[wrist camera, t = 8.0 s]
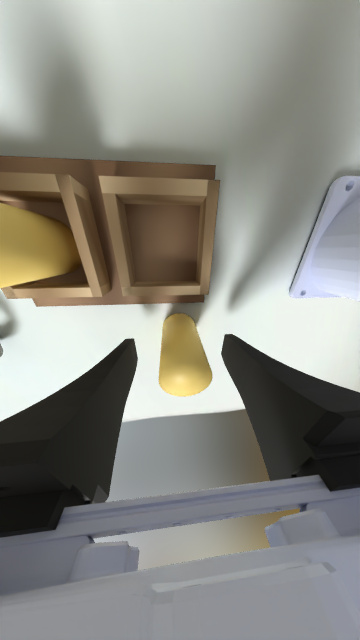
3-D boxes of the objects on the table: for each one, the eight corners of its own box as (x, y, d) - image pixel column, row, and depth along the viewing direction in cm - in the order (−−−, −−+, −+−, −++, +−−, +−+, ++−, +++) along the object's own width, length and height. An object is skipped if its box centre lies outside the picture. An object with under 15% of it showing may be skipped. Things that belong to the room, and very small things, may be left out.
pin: (72, 216, 8) (-123, 147, 3) (89, 273, 9) (-14, 302, 4) (14, 215, 8) (-326, 138, 2) (40, 273, 9) (-134, 304, 4)
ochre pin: (195, 312, 13) (215, 357, 7) (194, 340, 14) (209, 394, 9) (161, 313, 12) (156, 361, 7) (163, 341, 14) (160, 397, 9)
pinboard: (210, 174, 8) (226, 144, 6) (201, 298, 12) (208, 309, 10) (-20, 165, 7) (-104, 126, 5) (46, 301, 11) (15, 315, 9)
